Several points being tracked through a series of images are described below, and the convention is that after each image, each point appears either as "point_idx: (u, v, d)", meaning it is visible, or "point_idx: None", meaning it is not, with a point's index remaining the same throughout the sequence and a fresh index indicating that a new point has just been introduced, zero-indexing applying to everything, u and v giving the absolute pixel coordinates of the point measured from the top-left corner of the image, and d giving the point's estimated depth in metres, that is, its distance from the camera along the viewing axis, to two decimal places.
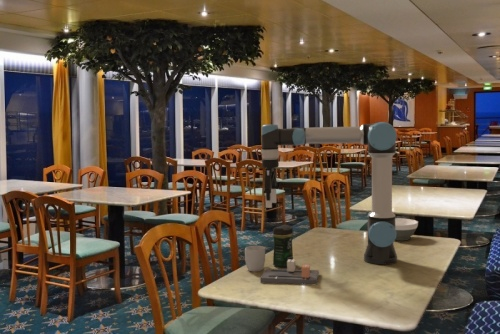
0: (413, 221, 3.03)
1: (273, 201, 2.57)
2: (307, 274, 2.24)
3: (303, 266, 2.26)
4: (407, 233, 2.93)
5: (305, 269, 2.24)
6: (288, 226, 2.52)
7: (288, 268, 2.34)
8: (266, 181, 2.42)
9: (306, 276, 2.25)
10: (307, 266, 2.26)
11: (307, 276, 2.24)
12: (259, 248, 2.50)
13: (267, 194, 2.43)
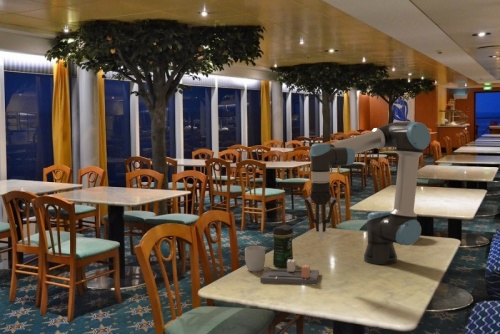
0: None
1: None
2: (307, 274, 2.24)
3: (303, 266, 2.26)
4: None
5: (305, 269, 2.24)
6: (288, 226, 2.52)
7: (288, 268, 2.34)
8: None
9: (306, 276, 2.25)
10: (307, 266, 2.26)
11: (307, 276, 2.24)
12: (259, 248, 2.50)
13: (316, 224, 2.24)
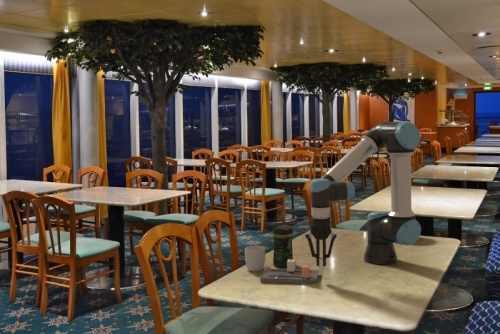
0: None
1: None
2: (307, 274, 2.24)
3: (303, 266, 2.26)
4: None
5: (305, 269, 2.24)
6: (288, 226, 2.52)
7: (288, 268, 2.34)
8: None
9: (306, 276, 2.25)
10: (307, 266, 2.26)
11: (307, 276, 2.24)
12: (259, 248, 2.50)
13: None
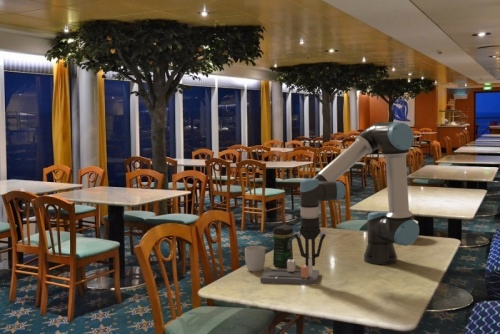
0: None
1: None
2: (306, 274, 2.24)
3: (302, 266, 2.26)
4: None
5: (304, 269, 2.24)
6: (288, 226, 2.52)
7: (288, 268, 2.34)
8: None
9: (305, 276, 2.25)
10: (306, 266, 2.26)
11: (306, 276, 2.25)
12: (259, 248, 2.50)
13: (305, 258, 2.26)
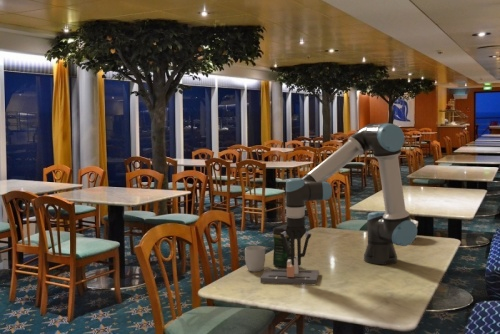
0: (413, 221, 3.03)
1: None
2: (292, 274, 2.26)
3: (288, 266, 2.27)
4: None
5: (290, 269, 2.26)
6: None
7: None
8: None
9: (291, 276, 2.26)
10: (292, 266, 2.27)
11: (292, 276, 2.26)
12: (259, 248, 2.50)
13: None
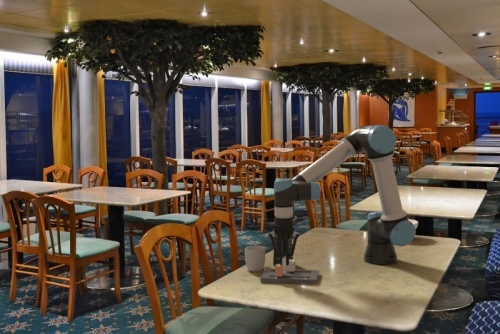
0: (413, 221, 3.03)
1: None
2: (280, 273, 2.27)
3: (277, 265, 2.28)
4: None
5: (278, 269, 2.26)
6: None
7: (288, 268, 2.34)
8: None
9: (279, 275, 2.27)
10: (280, 265, 2.28)
11: (280, 275, 2.27)
12: (259, 248, 2.50)
13: None
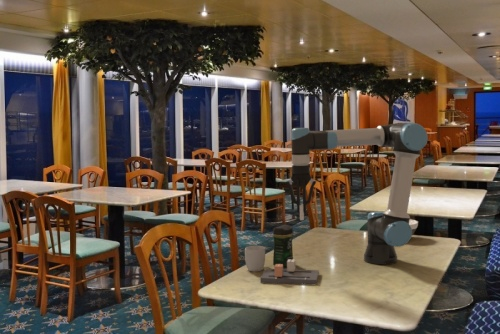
0: (413, 221, 3.03)
1: None
2: (280, 273, 2.27)
3: (276, 265, 2.28)
4: None
5: (278, 269, 2.27)
6: (288, 226, 2.52)
7: (288, 268, 2.34)
8: None
9: (279, 275, 2.27)
10: (280, 265, 2.28)
11: (280, 275, 2.27)
12: (259, 248, 2.50)
13: (297, 205, 2.34)
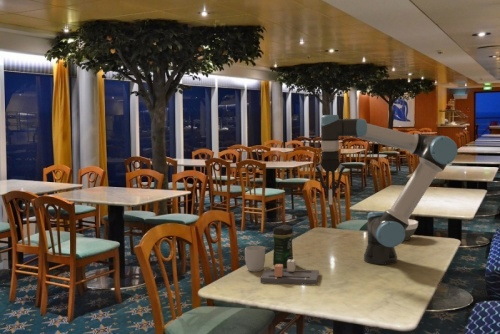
0: (413, 221, 3.03)
1: None
2: (280, 273, 2.27)
3: (276, 265, 2.28)
4: (407, 233, 2.93)
5: (278, 269, 2.27)
6: (288, 226, 2.52)
7: (288, 268, 2.34)
8: None
9: (279, 275, 2.27)
10: (280, 265, 2.28)
11: (280, 275, 2.27)
12: (259, 248, 2.50)
13: (326, 190, 2.41)
